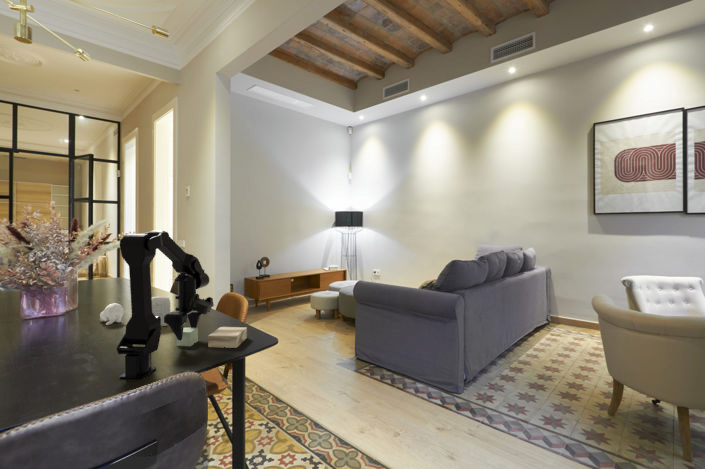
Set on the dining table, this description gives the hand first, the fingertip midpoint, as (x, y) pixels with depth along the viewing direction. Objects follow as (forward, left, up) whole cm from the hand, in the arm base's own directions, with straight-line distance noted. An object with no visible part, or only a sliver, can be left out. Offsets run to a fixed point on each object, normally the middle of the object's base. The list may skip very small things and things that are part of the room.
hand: (187, 335), depth 117 cm
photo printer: (+18, +23, -3) cm, 29 cm away
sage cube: (0, 0, -3) cm, 3 cm away
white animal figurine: (+22, +46, -3) cm, 51 cm away
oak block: (+2, -14, -3) cm, 14 cm away
